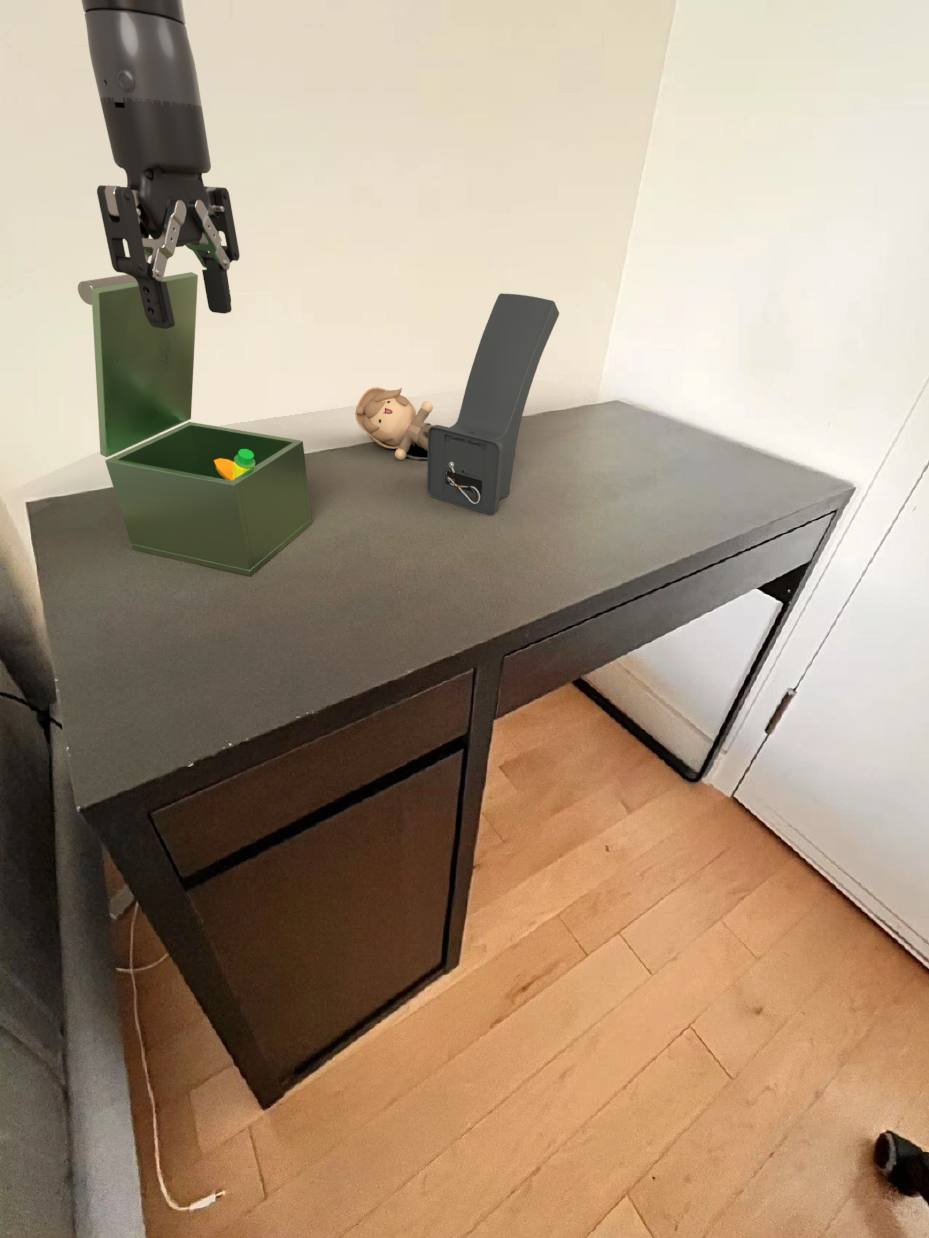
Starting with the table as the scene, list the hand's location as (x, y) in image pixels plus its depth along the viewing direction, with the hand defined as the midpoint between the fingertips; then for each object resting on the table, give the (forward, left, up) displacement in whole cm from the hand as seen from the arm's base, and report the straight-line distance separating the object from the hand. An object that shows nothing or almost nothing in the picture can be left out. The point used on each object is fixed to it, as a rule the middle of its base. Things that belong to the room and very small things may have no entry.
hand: (193, 319), depth 59 cm
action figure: (+35, -7, -25) cm, 43 cm away
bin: (+1, +2, -24) cm, 25 cm away
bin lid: (+1, +7, -5) cm, 9 cm away
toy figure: (0, 0, -23) cm, 23 cm away
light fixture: (+28, -23, -25) cm, 44 cm away
